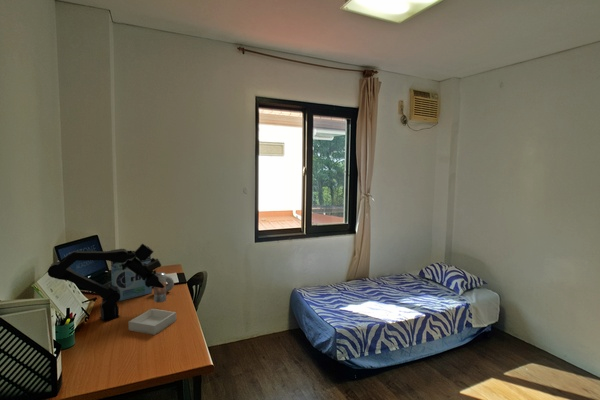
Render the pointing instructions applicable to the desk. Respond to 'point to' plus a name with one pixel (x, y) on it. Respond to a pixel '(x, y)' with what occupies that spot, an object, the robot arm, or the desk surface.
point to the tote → (152, 321)
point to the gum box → (129, 281)
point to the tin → (160, 292)
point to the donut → (169, 283)
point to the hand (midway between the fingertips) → (162, 285)
